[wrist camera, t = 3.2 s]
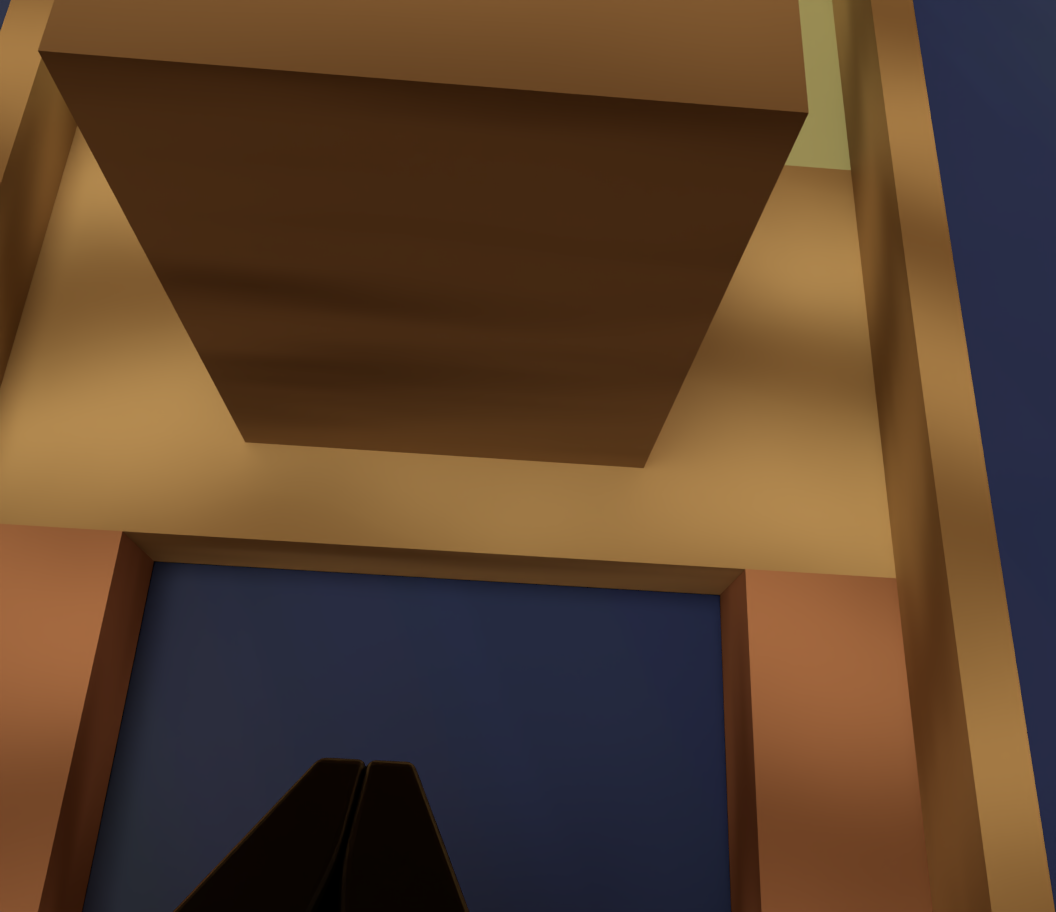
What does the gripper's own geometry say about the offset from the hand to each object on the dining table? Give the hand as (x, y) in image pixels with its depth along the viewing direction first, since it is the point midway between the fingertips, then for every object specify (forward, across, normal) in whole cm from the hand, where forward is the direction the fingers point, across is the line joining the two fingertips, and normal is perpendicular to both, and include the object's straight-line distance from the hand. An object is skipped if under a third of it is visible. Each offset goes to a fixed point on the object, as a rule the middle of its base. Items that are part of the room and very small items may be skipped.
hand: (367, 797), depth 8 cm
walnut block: (+14, 0, -2) cm, 14 cm away
